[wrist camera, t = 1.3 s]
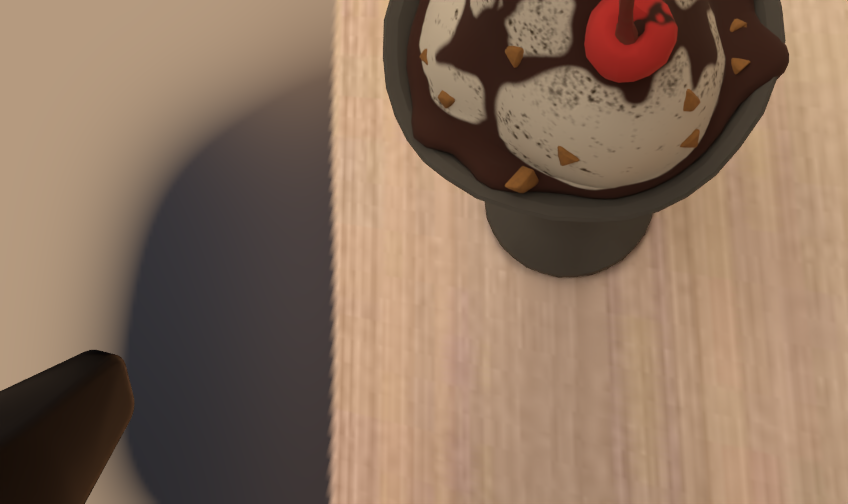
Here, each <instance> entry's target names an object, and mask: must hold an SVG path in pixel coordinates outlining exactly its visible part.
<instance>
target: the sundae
mask: <svg viewBox="0 0 848 504" xmlns="http://www.w3.org/2000/svg"><path fill="white" fill-rule="evenodd" d="M383 62H384V72H385V82H386V89H387V92H388V95H389V99H390V102H391V105H392V108H393V112H394V115H395V117H396V119H397V121H398V123H399V125H400V127H401V129H402V131H403V133H404V135H405V137H406V139H407V141H408V142H409V144H410V145H411V146H412V147H413V149H414V150H415V151H416V153H417V154H418V155H419V157H420V158H421V159H422V160H423V162H424V163H426V164H427V165H428V166H429V167H431V168H432V169H433V170H434V171H436V172H437V173H438V174H440V175H441V176H442V177H443V178H445V179H446V180H448V181H449V182H451V183H452V184H454V185H456V186H457V187H459V188H460V189H462V190H464V191H465V192H467V193H468V194H470V195H472V196H473V197H475V198H477V199H480V200H482V201H485V207H486V215H487V219H488V222H489V224H490V226H491V229H492V231H493V233H494V235H495V236H496V238H497V240H498V241H499V243H500V245H501V246H502V247H503V248H504V249H505V250H506V251H507V252H508V253H509V254H510V255H511V256H512V257H513V258H515V259H516V260H517V261H519V262H520V263H522V264H523V265H524V266H526V267H528V268H530V269H533V270H535V271H538V272H541V273H544V274H548V275H552V276H556V277H578V276H585V275H592V274H595V273H597V272H600V271H602V270H604V269H607V268H609V267H611V266H612V265H614V264H616V263H618V262H619V261H621V260H623V259H624V258H625V257H626V256H627V255H628V254H629V253H630V252H631V251H632V250H633V249H634V248H635V247H636V245H637V244H638V243H639V241H640V240H641V239H642V237H643V236H644V235H645V233H646V230H647V228H648V225H649V223H650V220H651V217H652V213H655V212H658V211H661V210H663V209H665V208H666V207H668V206H670V205H672V204H674V203H676V202H678V201H680V200H682V199H684V198H686V197H688V196H689V195H691V194H692V193H693V192H695V191H696V190H697V189H699V188H700V187H701V186H703V185H704V184H705V183H707V182H708V181H709V180H711V179H712V178H713V177H714V176H716V175H717V174H718V173H719V171H720V170H721V169H722V168H723V167H724V166H725V164H726V163H727V162H728V161H729V160H730V159H731V158H732V156H733V155H734V154H735V153H736V152H737V151H738V150H739V148H740V147H741V146H742V144H743V143H744V141H745V140H746V138H747V137H748V136H749V134H750V133H751V131H752V130H753V128H754V127H755V125H756V124H757V123H758V121H759V120H760V118H761V117H762V115H763V114H764V112H765V109H766V107H767V104H768V101H769V99H770V96H771V93H772V91H773V88H774V85H775V83H776V80H777V79H778V78H779V77H780V76H781V75H782V74H783V73H784V72H785V70H786V68H787V66H788V63H789V53H788V50H787V46H786V45H785V32H784V22H783V13H782V5H781V2H780V0H390V1H389V5H388V8H387V11H386V15H385V18H384V37H383Z"/></svg>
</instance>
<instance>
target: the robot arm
mask: <svg viewBox="0 0 848 504" xmlns="http://www.w3.org/2000/svg"><path fill="white" fill-rule="evenodd" d="M133 411H134V396H133V393H132V388H131V384H130V380H129V376H128V372H127V369H126V365H125V362H124V360H123V359H122V358H121V357H120V356H118V355H115V354H111V353H107V352H103V351H99V350H89V351H86V352H83V353H81V354H79V355H77V356H75V357H72V358H70V359H68V360H66V361H64V362H62V363H60V364H57V365H55V366H53V367H51V368H49V369H47V370H45V371H43V372H40V373H38V374H36V375H34V376H32V377H30V378H28V379H25V380H23V381H21V382H19V383H17V384H15V385H13V386H11V387H8V388H6V389H4V390H2V391H0V504H85V502H86V500H87V498H88V497H89V495H90V493H91V491H92V489H93V488H94V486H95V484H96V482H97V480H98V478H99V477H100V475H101V473H102V471H103V469H104V467H105V466H106V464H107V462H108V460H109V458H110V456H111V455H112V453H113V451H114V449H115V447H116V445H117V444H118V442H119V440H120V438H121V436H122V434H123V433H124V430H125V429H126V427H127V425H128V423H129V421H130V419H131V417H132V414H133Z"/></svg>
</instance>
